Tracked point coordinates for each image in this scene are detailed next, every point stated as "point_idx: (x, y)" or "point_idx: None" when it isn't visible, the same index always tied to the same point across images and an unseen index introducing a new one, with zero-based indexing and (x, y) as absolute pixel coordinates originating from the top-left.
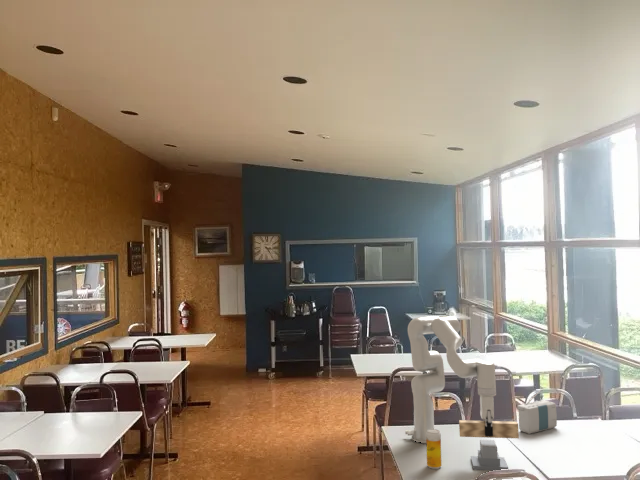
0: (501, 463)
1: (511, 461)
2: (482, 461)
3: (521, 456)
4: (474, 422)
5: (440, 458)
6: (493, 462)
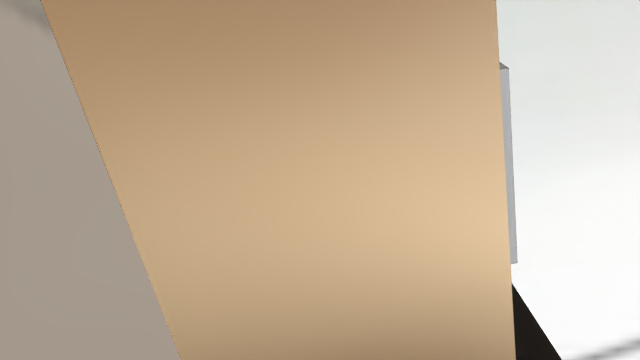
0: None
1: None
2: None
3: (604, 328)
4: (177, 188)
5: None
6: None
